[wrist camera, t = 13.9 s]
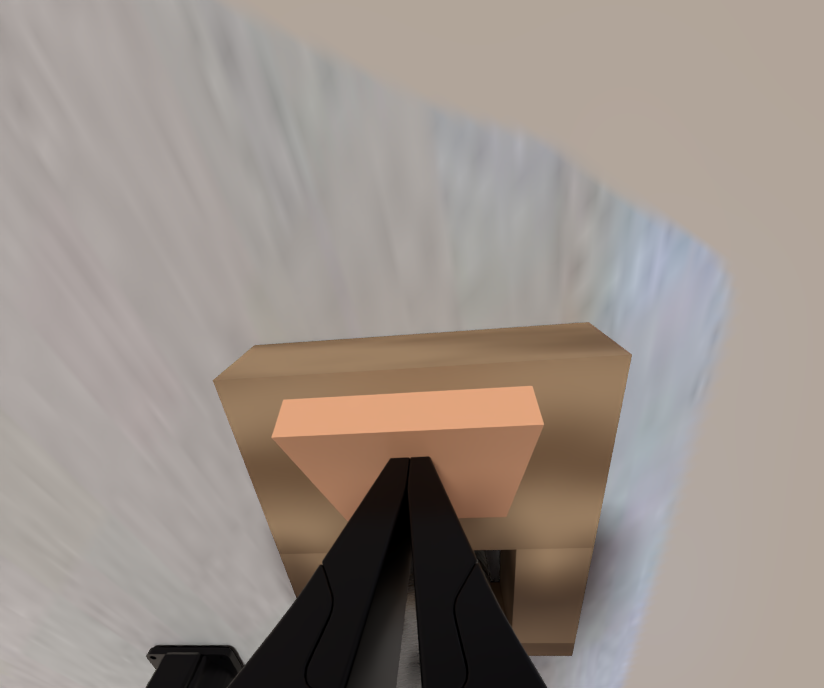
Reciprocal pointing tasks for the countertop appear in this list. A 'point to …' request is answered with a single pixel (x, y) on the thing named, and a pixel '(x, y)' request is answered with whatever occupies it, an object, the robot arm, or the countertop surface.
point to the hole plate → (440, 371)
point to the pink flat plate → (416, 442)
